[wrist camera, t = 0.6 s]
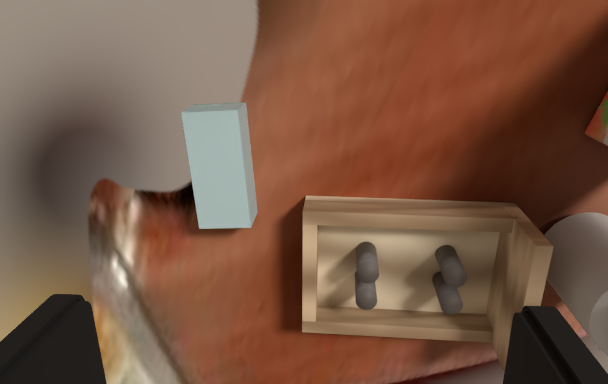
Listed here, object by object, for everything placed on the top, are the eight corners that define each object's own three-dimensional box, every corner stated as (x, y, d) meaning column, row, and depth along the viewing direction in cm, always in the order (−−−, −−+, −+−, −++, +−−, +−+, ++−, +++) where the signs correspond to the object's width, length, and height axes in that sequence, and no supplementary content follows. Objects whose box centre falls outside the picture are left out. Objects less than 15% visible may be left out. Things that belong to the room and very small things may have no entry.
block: (194, 104, 39) (181, 112, 36) (246, 102, 39) (237, 109, 36) (210, 212, 43) (199, 228, 40) (258, 211, 43) (250, 227, 39)
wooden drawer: (306, 195, 41) (297, 235, 34) (514, 202, 40) (553, 246, 32) (305, 309, 46) (297, 366, 38) (493, 319, 44) (523, 381, 37)
